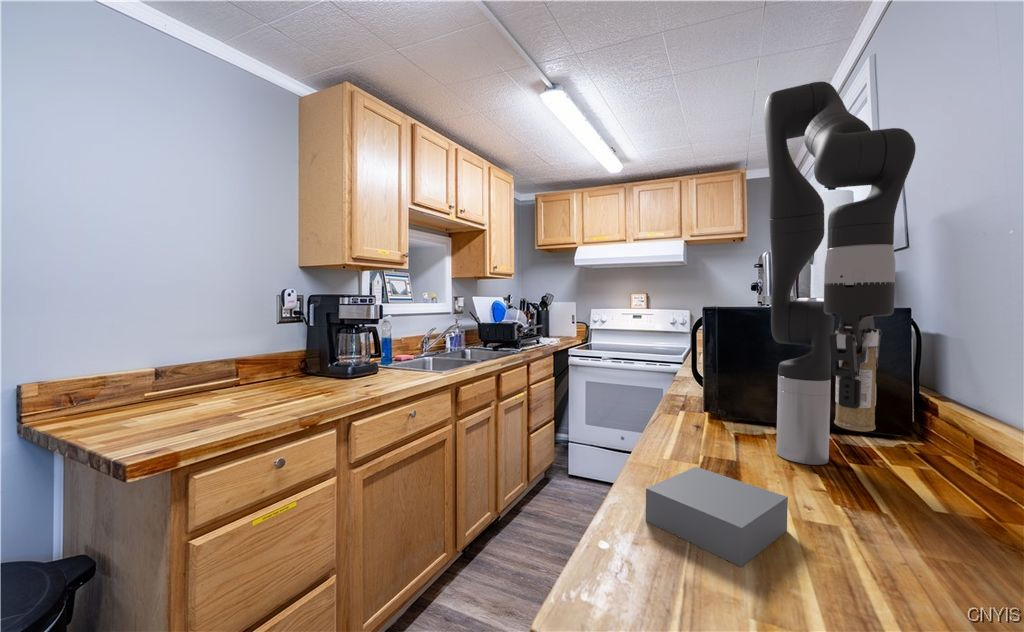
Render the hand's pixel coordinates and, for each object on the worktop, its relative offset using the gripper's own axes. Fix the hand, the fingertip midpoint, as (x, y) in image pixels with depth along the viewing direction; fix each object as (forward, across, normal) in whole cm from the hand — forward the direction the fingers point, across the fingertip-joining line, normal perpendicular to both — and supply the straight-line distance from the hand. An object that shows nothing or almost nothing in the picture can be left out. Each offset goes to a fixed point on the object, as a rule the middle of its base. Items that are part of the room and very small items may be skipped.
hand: (854, 403), depth 59 cm
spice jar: (+4, 0, 0) cm, 4 cm away
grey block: (+19, +12, -13) cm, 26 cm away
